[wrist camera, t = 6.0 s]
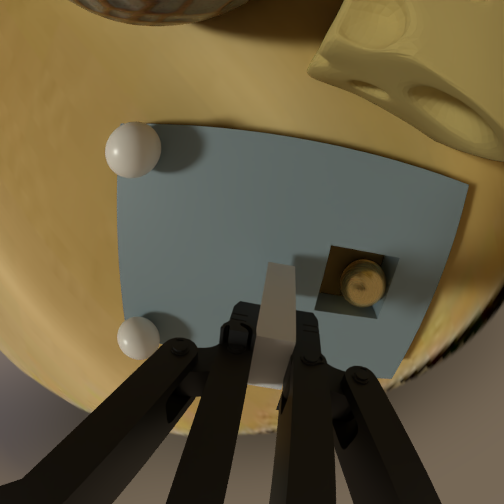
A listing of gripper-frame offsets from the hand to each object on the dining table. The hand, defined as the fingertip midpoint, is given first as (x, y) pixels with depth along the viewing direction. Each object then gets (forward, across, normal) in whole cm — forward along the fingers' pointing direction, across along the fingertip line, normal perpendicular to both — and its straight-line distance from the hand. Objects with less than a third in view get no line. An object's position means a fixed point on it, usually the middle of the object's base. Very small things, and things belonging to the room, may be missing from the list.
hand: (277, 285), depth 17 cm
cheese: (+4, +6, +16) cm, 18 cm away
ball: (+2, +6, 0) cm, 6 cm away
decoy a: (0, -9, +7) cm, 11 cm away
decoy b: (0, -9, -6) cm, 11 cm away
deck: (+4, 0, 0) cm, 4 cm away
